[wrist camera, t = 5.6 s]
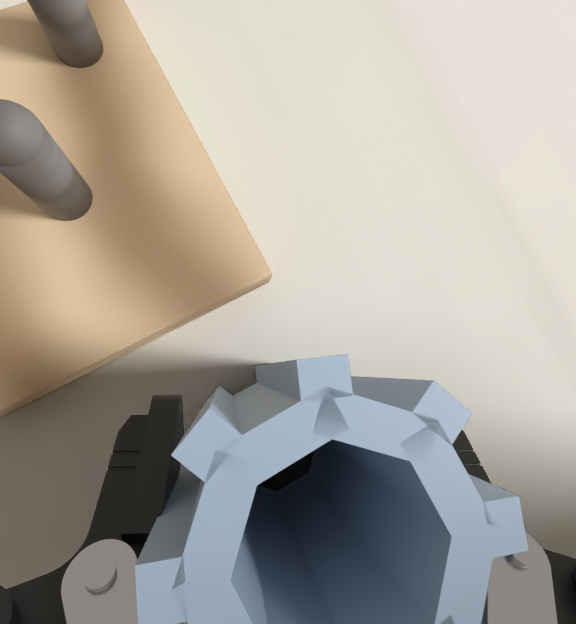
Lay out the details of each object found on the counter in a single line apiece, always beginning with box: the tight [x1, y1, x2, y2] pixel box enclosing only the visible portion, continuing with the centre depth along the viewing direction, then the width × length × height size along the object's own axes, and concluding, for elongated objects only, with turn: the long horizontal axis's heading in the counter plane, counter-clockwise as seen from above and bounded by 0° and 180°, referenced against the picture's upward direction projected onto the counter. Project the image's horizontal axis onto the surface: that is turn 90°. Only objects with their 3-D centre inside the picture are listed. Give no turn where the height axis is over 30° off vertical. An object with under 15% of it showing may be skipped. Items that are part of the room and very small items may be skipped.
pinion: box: [135, 354, 528, 624], centre depth 11 cm, size 6×6×10 cm
